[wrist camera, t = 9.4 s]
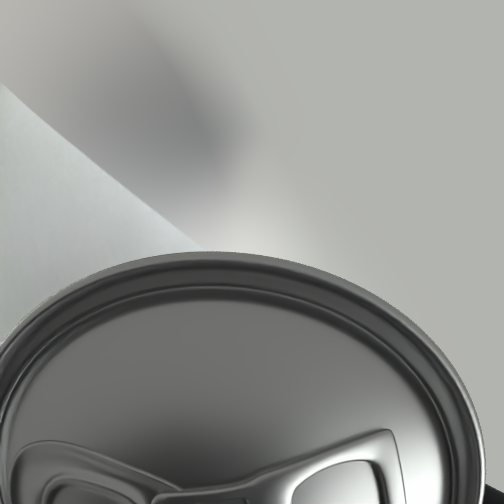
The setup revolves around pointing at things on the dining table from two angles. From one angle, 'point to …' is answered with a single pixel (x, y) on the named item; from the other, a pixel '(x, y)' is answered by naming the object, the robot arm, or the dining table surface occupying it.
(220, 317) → the can
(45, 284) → the dining table surface
